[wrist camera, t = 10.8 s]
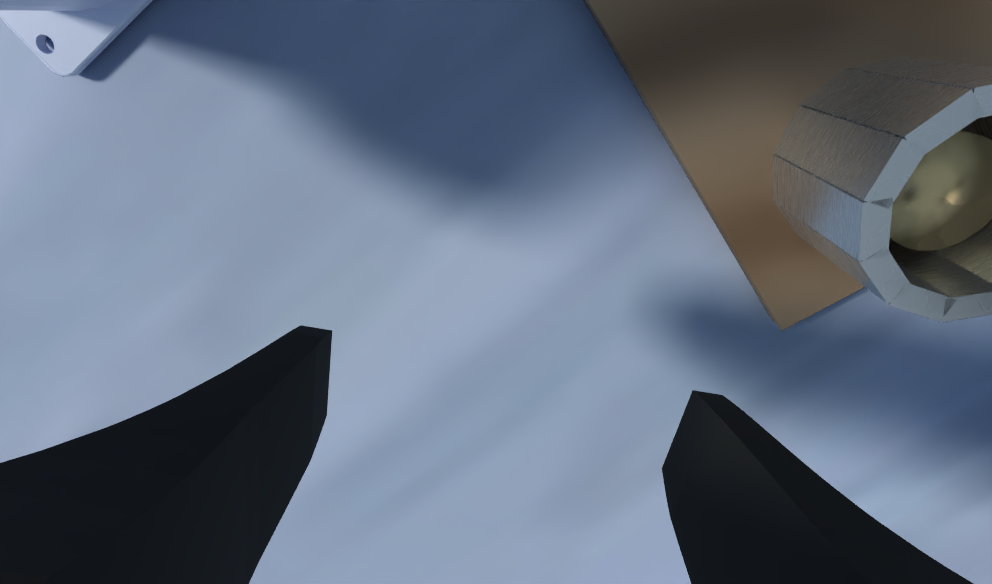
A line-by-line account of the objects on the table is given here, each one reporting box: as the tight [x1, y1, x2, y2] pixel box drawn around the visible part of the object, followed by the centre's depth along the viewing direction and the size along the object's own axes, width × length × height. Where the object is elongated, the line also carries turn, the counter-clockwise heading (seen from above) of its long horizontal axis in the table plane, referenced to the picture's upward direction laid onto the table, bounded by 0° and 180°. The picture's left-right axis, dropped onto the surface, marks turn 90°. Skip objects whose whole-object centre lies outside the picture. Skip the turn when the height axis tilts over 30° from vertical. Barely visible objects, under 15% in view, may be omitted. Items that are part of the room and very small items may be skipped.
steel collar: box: [772, 57, 992, 322], centre depth 15 cm, size 6×6×5 cm
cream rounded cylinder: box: [890, 130, 992, 251], centre depth 16 cm, size 3×3×4 cm
